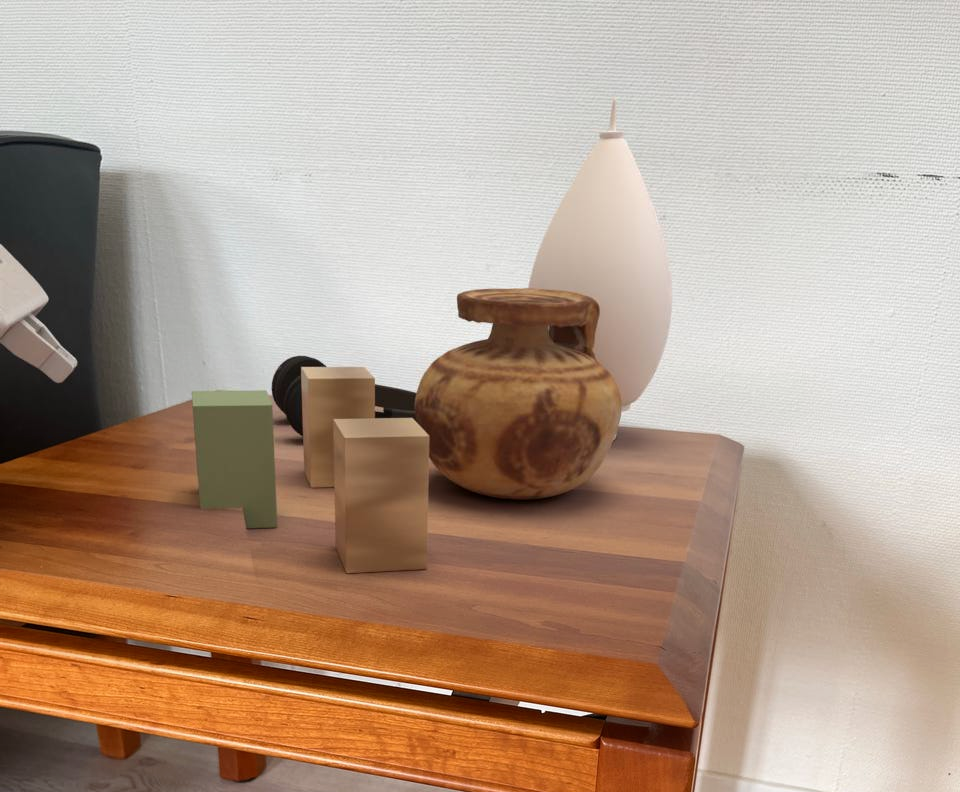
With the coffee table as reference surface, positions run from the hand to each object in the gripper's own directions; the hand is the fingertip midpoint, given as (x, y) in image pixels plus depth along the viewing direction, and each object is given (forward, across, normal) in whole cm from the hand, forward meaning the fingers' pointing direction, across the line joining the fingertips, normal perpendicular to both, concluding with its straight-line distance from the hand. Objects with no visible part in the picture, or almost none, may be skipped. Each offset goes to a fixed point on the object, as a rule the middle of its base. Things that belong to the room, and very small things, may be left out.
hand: (69, 374), depth 76 cm
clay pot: (+35, +9, -18) cm, 40 cm away
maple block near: (+24, -9, -7) cm, 27 cm away
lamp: (+45, +30, -28) cm, 61 cm away
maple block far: (+23, +14, -7) cm, 28 cm away
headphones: (+27, +35, -10) cm, 45 cm away
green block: (+17, +2, 0) cm, 17 cm away
